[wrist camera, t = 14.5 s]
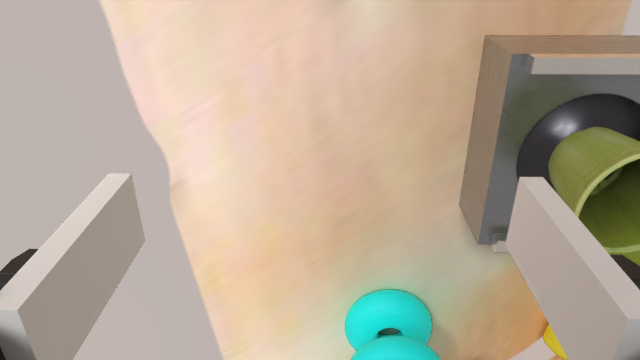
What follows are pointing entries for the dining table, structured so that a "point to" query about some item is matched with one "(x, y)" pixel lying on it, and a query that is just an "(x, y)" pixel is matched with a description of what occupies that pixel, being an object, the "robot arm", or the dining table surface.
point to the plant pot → (601, 186)
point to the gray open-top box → (540, 114)
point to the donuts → (389, 312)
